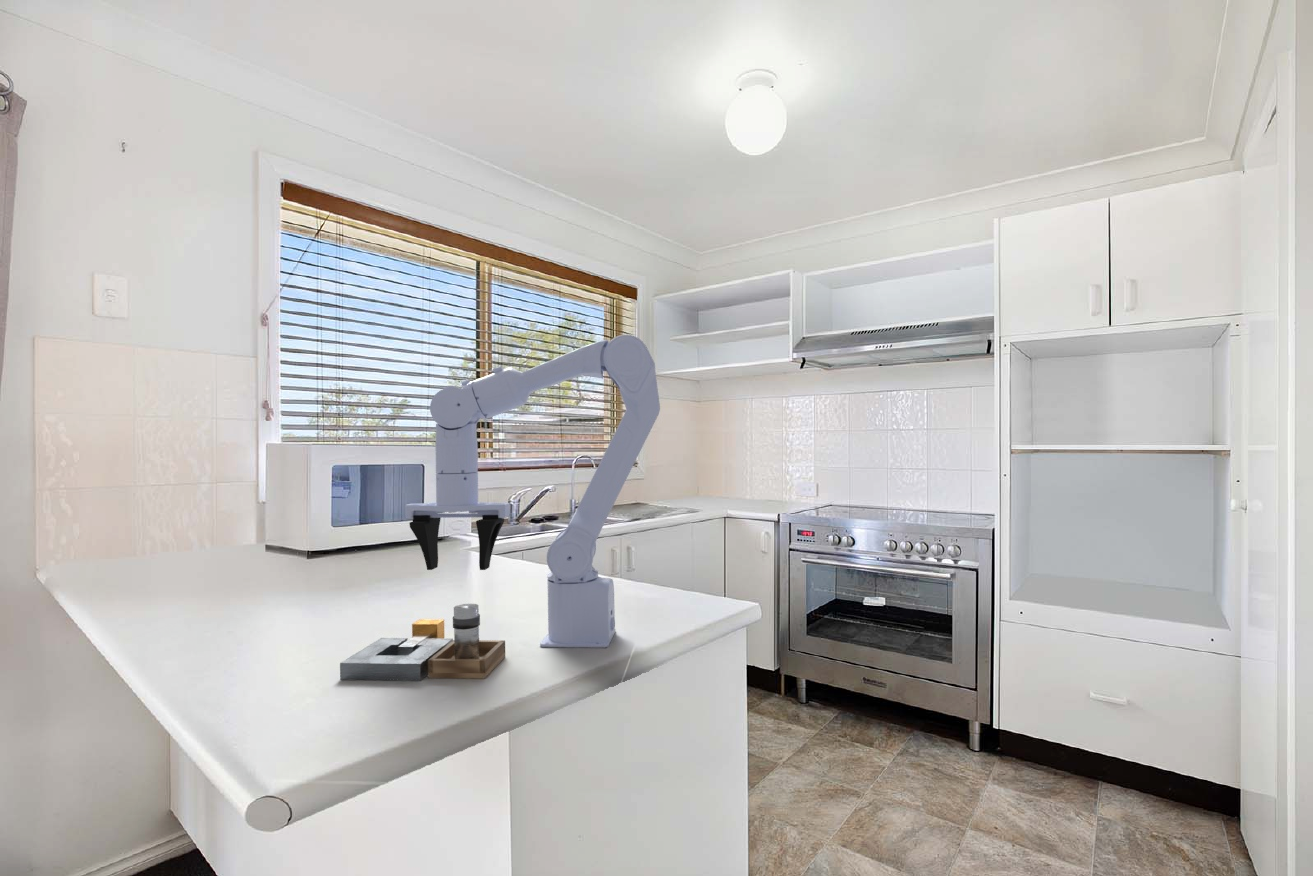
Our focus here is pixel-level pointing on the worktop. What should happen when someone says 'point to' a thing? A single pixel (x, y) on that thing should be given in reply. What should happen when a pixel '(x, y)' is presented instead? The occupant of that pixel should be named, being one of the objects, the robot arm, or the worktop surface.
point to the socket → (391, 660)
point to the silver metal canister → (466, 631)
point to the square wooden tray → (466, 661)
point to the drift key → (422, 634)
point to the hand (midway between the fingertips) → (458, 568)
